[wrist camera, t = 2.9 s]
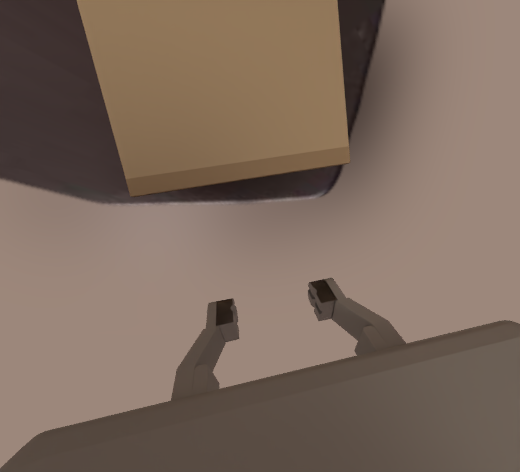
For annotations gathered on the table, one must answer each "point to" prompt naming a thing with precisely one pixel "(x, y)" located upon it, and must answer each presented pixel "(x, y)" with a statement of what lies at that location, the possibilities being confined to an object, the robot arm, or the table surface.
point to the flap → (219, 88)
